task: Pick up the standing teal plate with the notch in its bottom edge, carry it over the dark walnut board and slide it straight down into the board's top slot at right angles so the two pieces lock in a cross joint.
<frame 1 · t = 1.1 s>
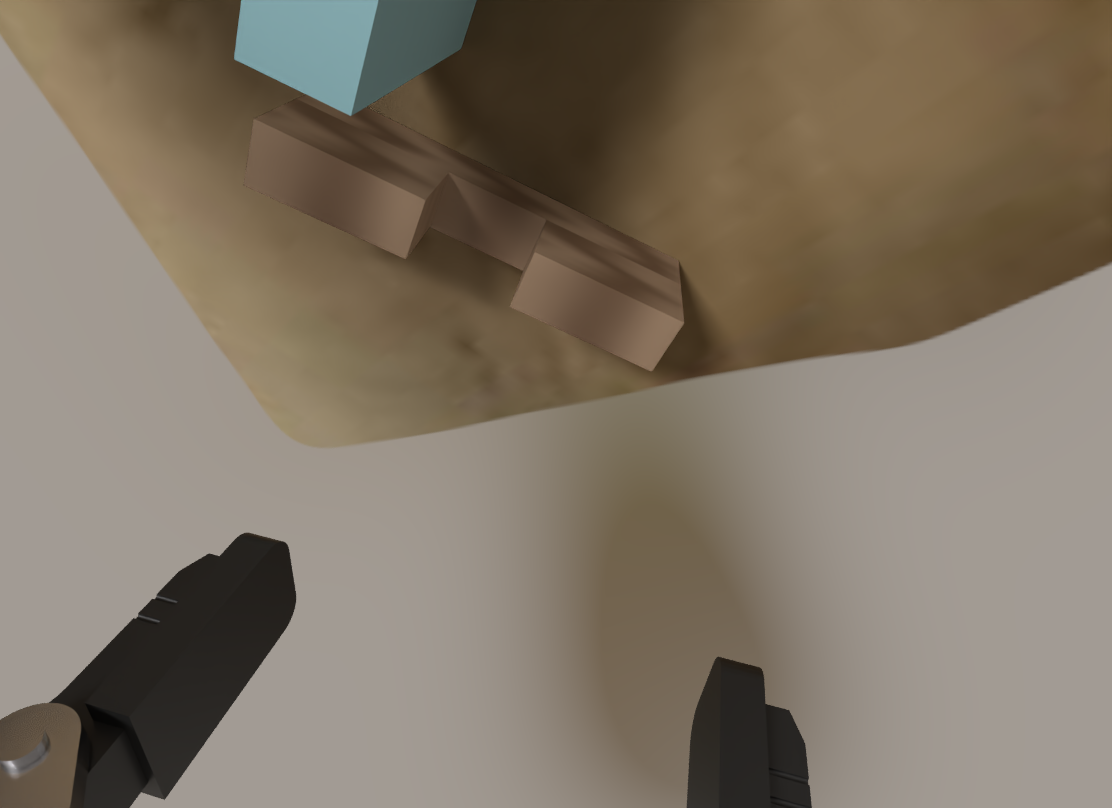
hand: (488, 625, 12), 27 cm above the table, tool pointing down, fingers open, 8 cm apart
walnut slotted board: (498, 203, 35), on the table
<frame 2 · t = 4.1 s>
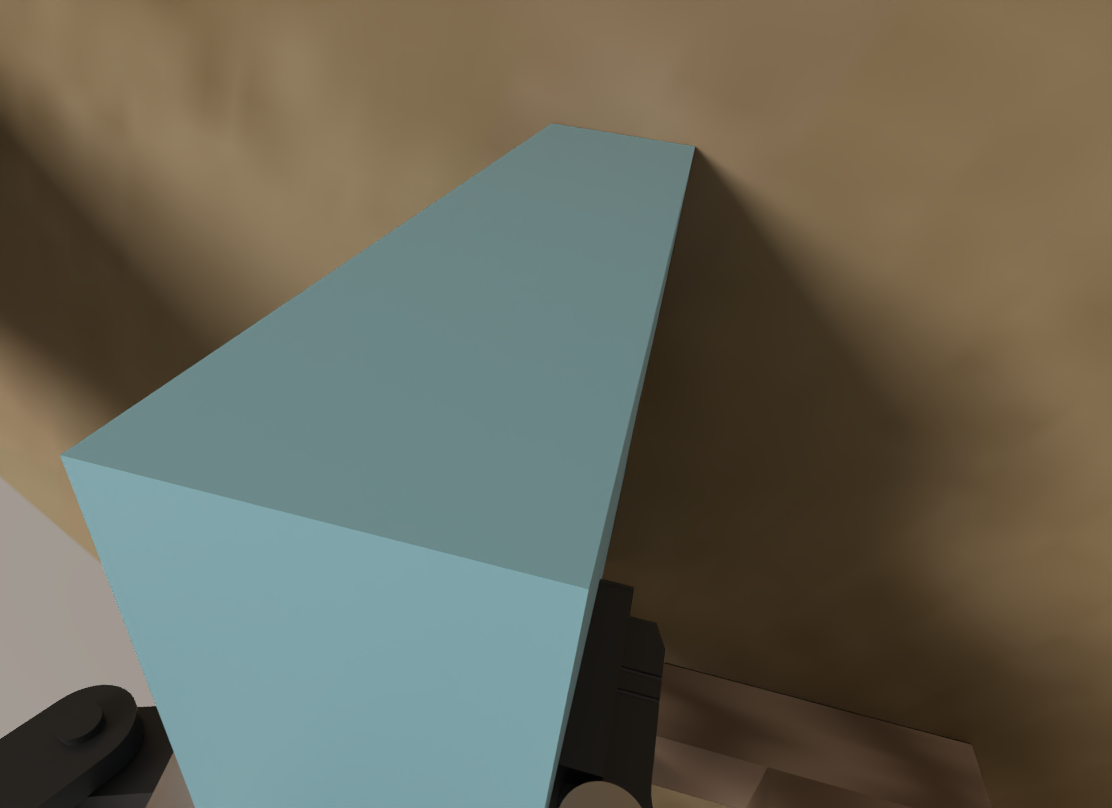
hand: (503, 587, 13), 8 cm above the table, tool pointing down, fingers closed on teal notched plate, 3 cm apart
teal notched plate: (583, 383, 19), on the table, touching gripper
walnut slotted board: (687, 694, 26), on the table
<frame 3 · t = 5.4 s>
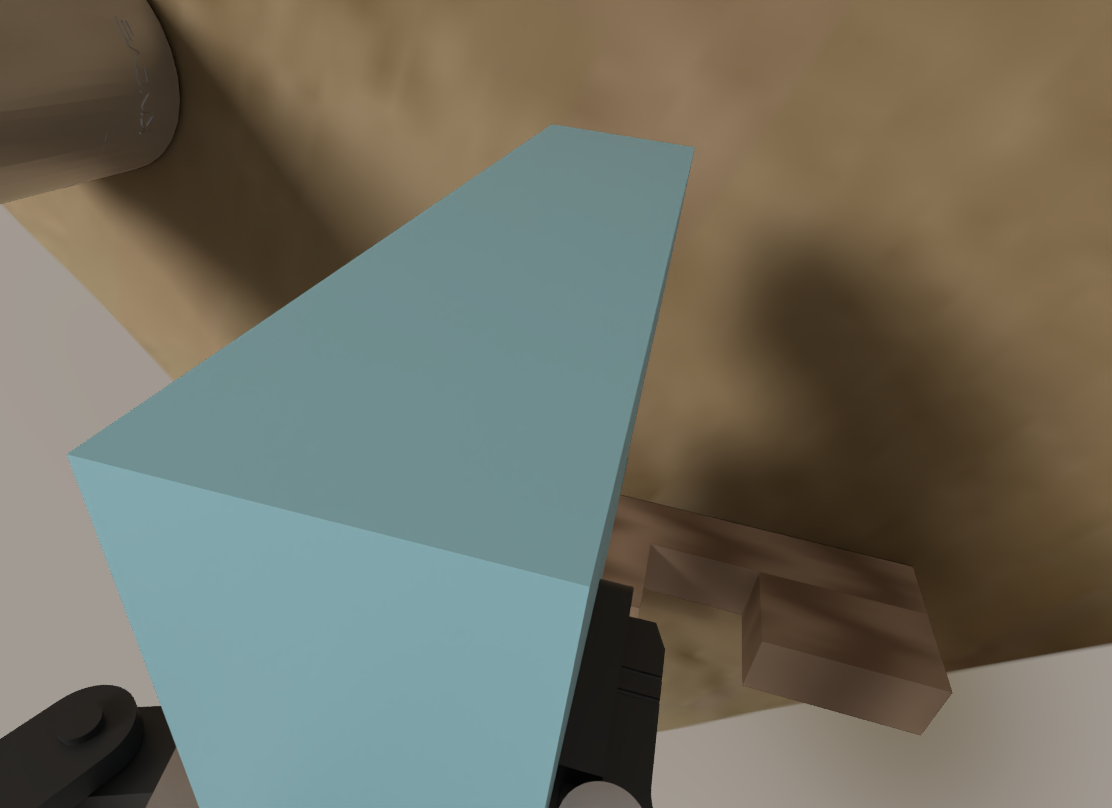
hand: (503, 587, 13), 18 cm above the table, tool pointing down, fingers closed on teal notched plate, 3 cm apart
teal notched plate: (583, 383, 19), point 10 cm above the table, touching gripper
walnut slotted board: (700, 537, 34), on the table
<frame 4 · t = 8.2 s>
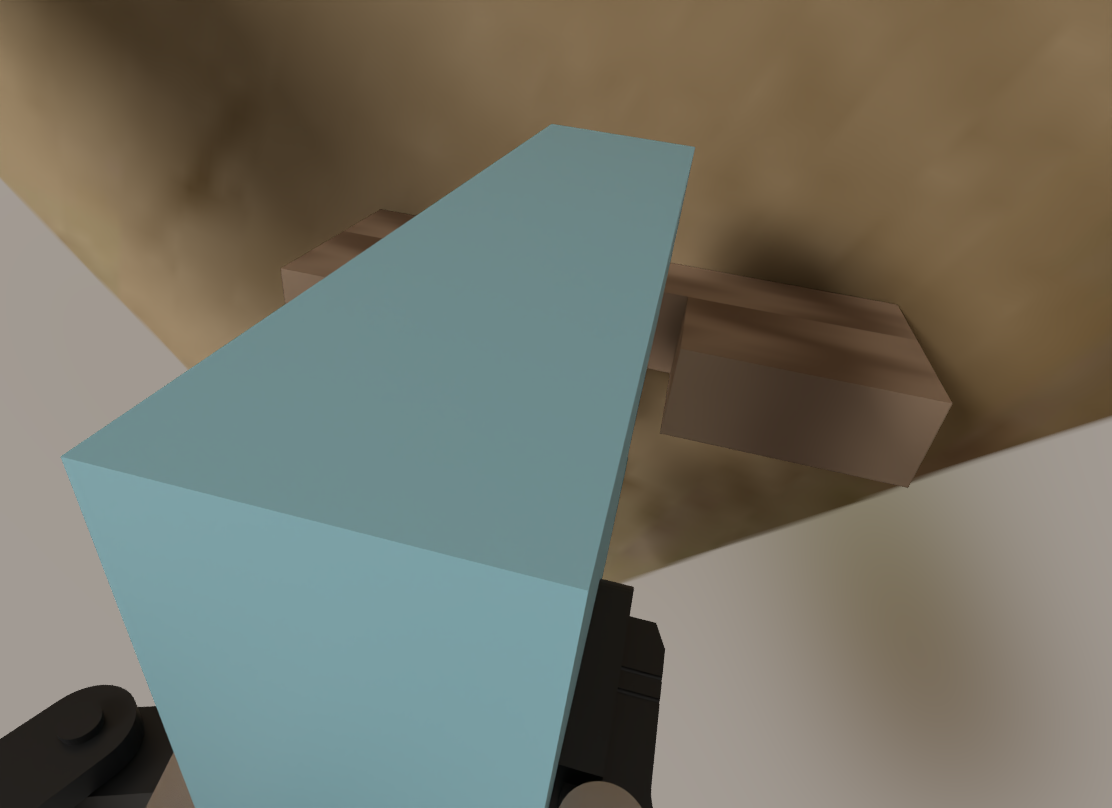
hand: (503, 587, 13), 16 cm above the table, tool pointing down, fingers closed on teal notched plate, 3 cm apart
teal notched plate: (583, 383, 19), point 8 cm above the table, touching gripper
walnut slotted board: (619, 291, 26), on the table
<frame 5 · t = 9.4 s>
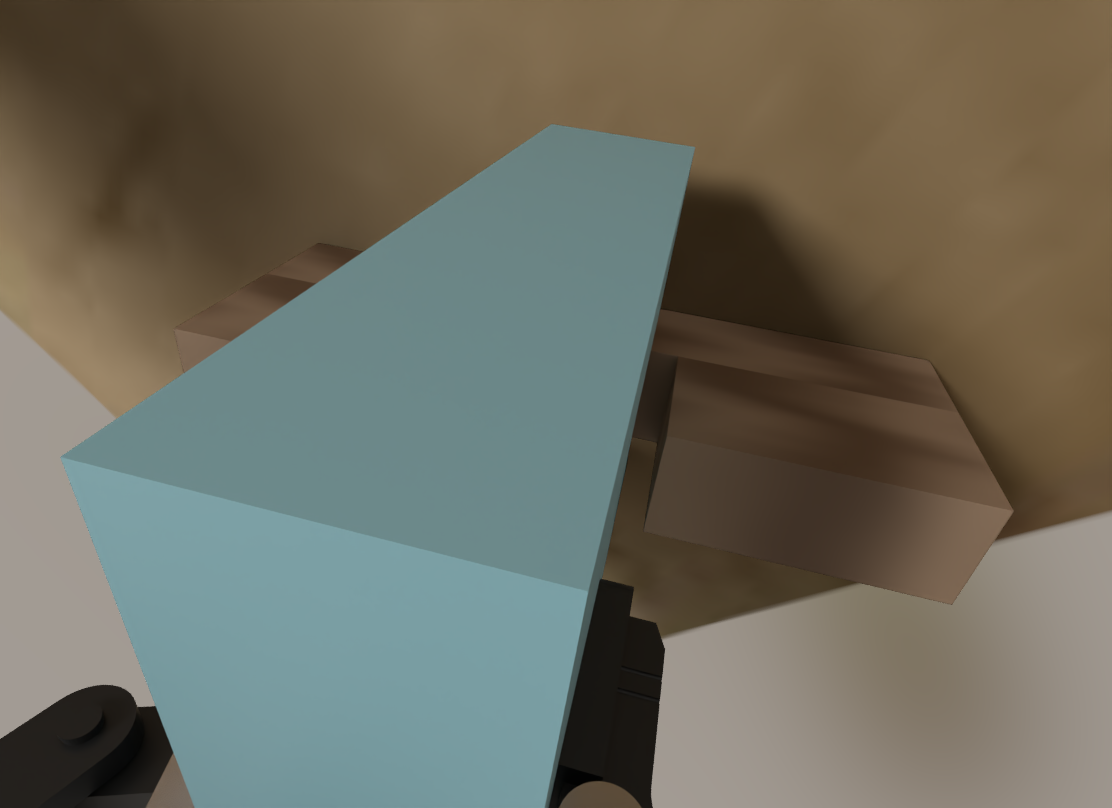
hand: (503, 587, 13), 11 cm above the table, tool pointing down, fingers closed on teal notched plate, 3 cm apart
teal notched plate: (583, 383, 19), point 3 cm above the table, touching gripper
walnut slotted board: (598, 339, 22), on the table
when the fingers open (9 cm above the table, at t = 10.5 s): teal notched plate stays where it is, on the table.
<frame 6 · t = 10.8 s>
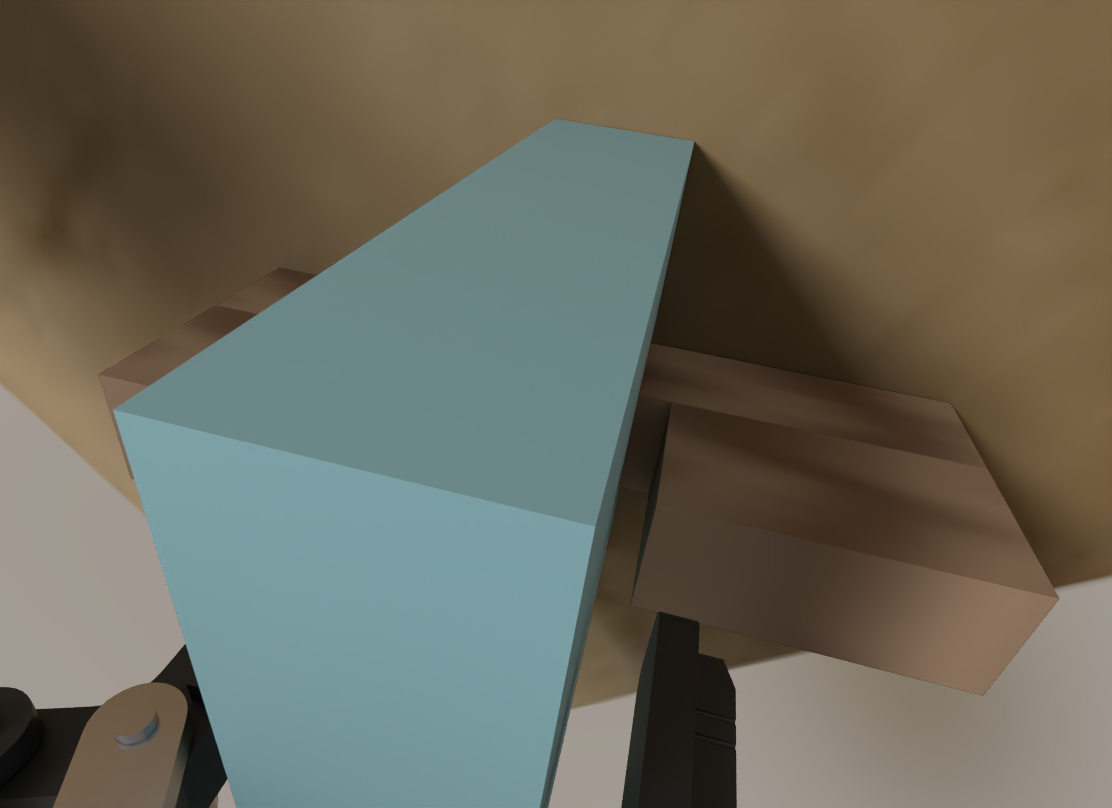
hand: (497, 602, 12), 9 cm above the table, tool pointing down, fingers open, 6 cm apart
teal notched plate: (585, 374, 20), on the table
walnut slotted board: (585, 375, 20), on the table
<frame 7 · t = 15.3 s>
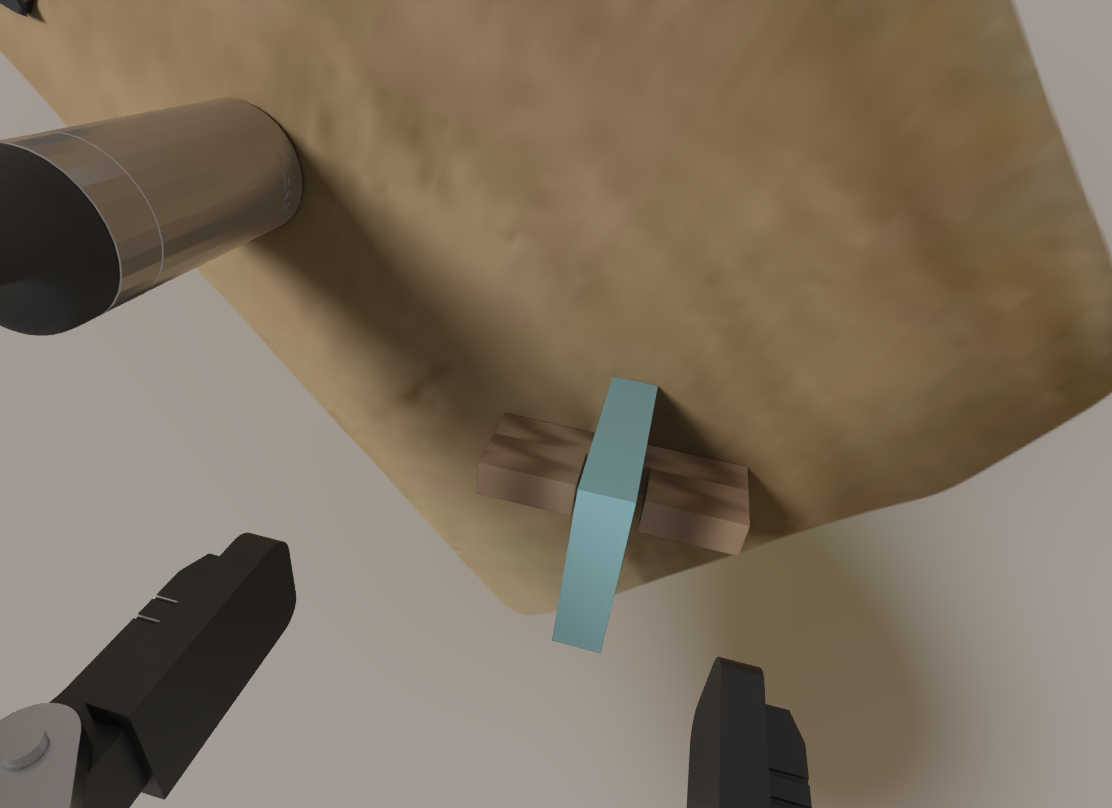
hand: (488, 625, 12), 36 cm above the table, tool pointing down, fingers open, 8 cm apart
teal notched plate: (620, 453, 54), on the table
walnut slotted board: (620, 454, 54), on the table
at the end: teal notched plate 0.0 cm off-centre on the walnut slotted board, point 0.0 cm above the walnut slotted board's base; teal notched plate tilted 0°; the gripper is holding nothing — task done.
